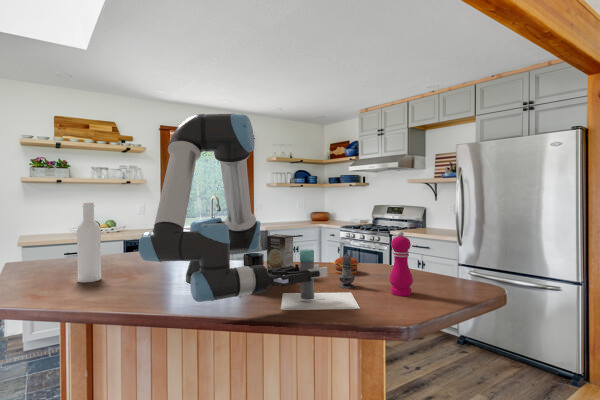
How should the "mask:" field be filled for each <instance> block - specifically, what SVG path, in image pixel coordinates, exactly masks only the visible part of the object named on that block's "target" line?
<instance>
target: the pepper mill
mask: <svg viewBox="0 0 600 400" xmlns="http://www.w3.org/2000/svg"><path fill="white" fill-rule="evenodd" d="M404 235H405V234H404V232H403V231H398V232H397V236H395V237H393V239H392V240H391V244H390V245H391V248H392V250H393V251H392V256H393V258H394V259H393V260H394V261H393V266H392V269H391V272H390V274H389V283H390V284H391V287H390V294H391V295H394V296H398V297H409V296H411V295H412V288H411V286H412V285H413V283H414V282H413V281H414V279H413V275H412V273H411V270H410V267H409V262H408V261H409V260H408V259H409V256H410V255H409V253H410V248H411V245H412V244H411V240H410V239H409V238H408V237H406V236H404Z"/></svg>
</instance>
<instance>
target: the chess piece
mask: <svg viewBox="0 0 600 400" xmlns="http://www.w3.org/2000/svg"><path fill="white" fill-rule="evenodd" d="M342 257H343V264H342V274H341V275H340V274H338V278H339V281H340V284H339V285H338V286H339V288H341V289H354V288H355V287H356V286H355V285H354V284H353V283H354V282H355V278H356V275H355V274H354V275H352V273H351V266H352V265H351V257H352V256H351V255H350V254H348V252H347V251H346V252H345V254H344V255H343V256H342Z"/></svg>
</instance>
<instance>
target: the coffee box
mask: <svg viewBox="0 0 600 400" xmlns="http://www.w3.org/2000/svg"><path fill="white" fill-rule="evenodd" d="M287 266H294V235H289V234H277V233H276V234H275V233H274V234H270V235H266V269H268V268H278V267H287Z"/></svg>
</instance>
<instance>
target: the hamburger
mask: <svg viewBox="0 0 600 400" xmlns="http://www.w3.org/2000/svg"><path fill="white" fill-rule="evenodd" d="M331 264H334V267H335V271H334V272H335V274H337V275H341V274H342V264H343V256H340V257H338V258H336V259H334V261H332V262H331ZM351 265H352V266H351V273H352V275H354V276H355V275H357V274H358V266H362V264H361V263H359V261H358V259H356V258H354V257H352V256H351Z"/></svg>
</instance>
